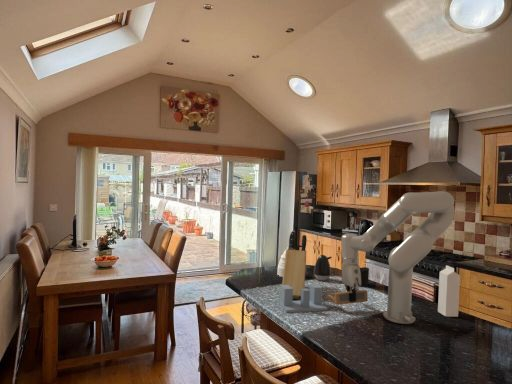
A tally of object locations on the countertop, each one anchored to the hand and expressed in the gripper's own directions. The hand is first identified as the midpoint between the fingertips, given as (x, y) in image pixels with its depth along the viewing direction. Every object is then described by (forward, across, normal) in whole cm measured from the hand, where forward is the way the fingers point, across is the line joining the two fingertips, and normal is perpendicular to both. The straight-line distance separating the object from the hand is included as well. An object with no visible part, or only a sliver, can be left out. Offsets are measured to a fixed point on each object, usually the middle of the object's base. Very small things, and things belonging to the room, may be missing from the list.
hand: (351, 300), depth 155 cm
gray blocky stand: (+3, +7, +21) cm, 23 cm away
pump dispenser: (+3, +49, -9) cm, 50 cm away
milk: (+7, -12, -42) cm, 45 cm away
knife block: (+3, +31, +17) cm, 35 cm away
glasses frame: (+1, +4, 0) cm, 4 cm away
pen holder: (+4, +36, -26) cm, 45 cm away
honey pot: (+2, +62, +9) cm, 63 cm away
